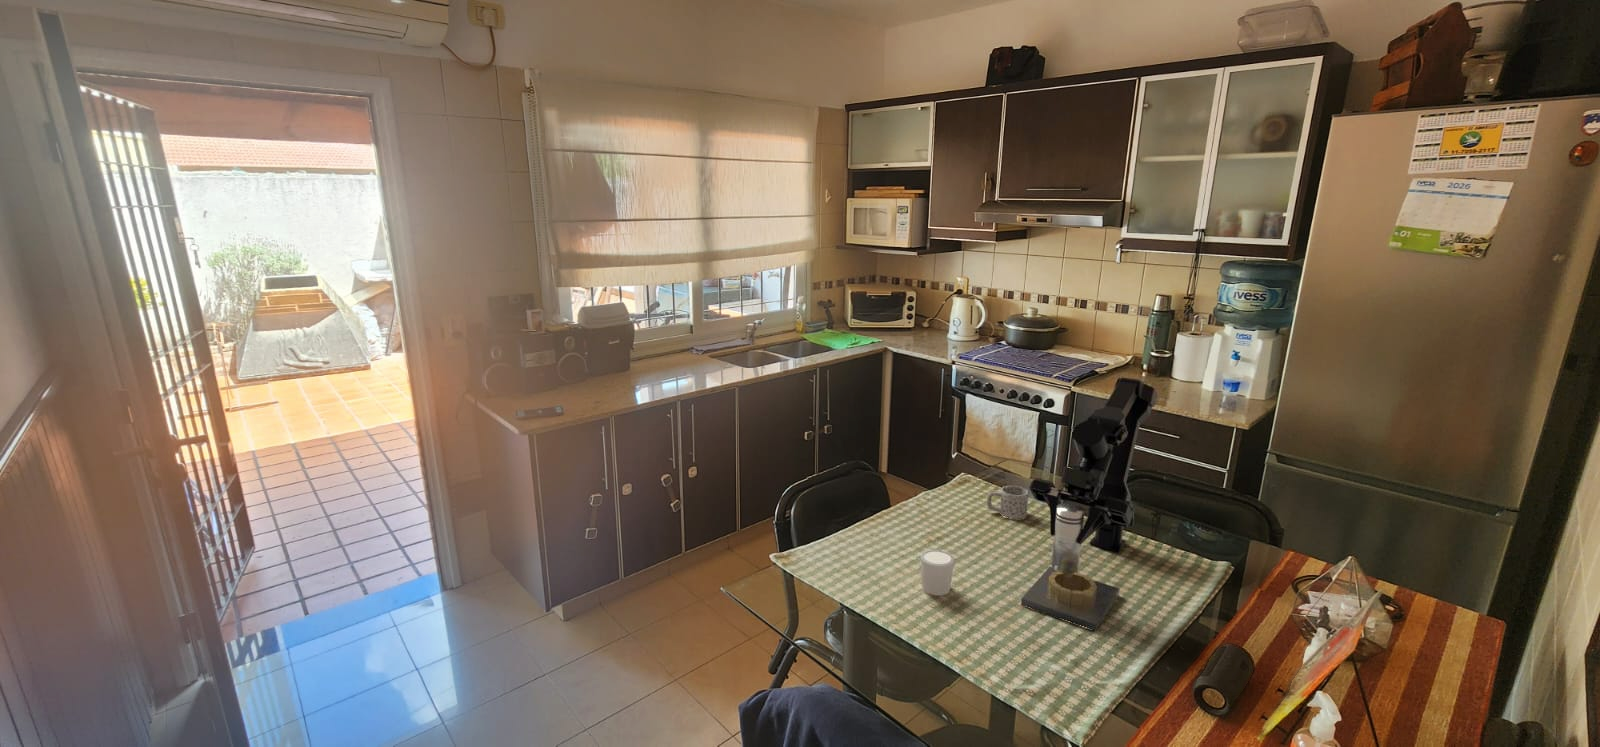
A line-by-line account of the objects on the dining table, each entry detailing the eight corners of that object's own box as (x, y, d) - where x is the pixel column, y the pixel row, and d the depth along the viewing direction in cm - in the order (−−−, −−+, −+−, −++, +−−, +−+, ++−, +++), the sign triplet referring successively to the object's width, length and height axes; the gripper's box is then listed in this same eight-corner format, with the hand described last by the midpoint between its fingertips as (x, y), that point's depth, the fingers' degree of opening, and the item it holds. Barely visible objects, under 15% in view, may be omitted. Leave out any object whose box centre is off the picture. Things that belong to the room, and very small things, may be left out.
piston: (1049, 559, 136) (1054, 502, 133) (1076, 562, 135) (1082, 504, 132) (1052, 572, 131) (1058, 513, 128) (1080, 575, 130) (1086, 515, 127)
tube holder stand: (1049, 572, 144) (1050, 555, 143) (1118, 595, 136) (1121, 577, 135) (1021, 605, 132) (1022, 586, 131) (1095, 631, 123) (1097, 612, 123)
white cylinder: (933, 600, 134) (934, 568, 132) (912, 584, 140) (913, 553, 138) (959, 592, 137) (961, 560, 135) (938, 576, 143) (939, 546, 141)
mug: (1025, 510, 175) (1027, 486, 174) (1027, 521, 169) (1029, 496, 168) (985, 507, 178) (987, 483, 176) (986, 517, 171) (988, 493, 170)
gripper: (1036, 440, 137) (1009, 507, 131) (1134, 462, 125) (1108, 537, 119) (1048, 466, 144) (1023, 531, 139) (1142, 489, 132) (1118, 561, 127)
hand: (1065, 539), depth 131 cm, fingers closed on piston, 5 cm apart
